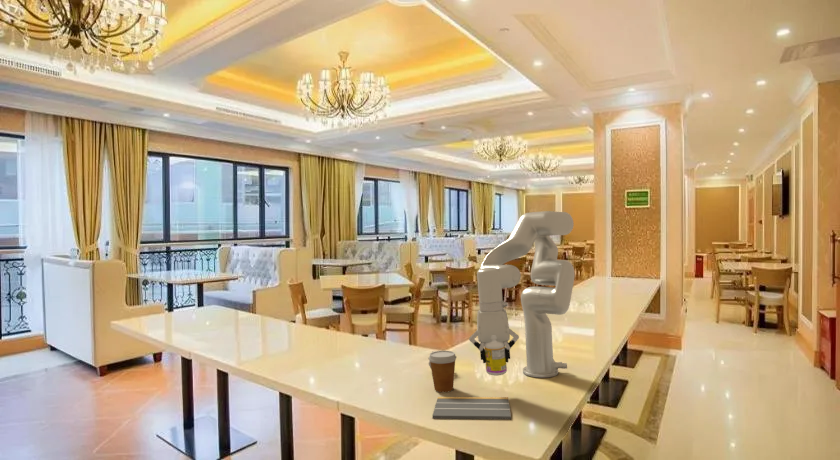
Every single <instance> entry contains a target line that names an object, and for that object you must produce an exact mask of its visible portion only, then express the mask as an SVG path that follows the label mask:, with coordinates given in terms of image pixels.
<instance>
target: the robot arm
mask: <svg viewBox="0 0 840 460" xmlns="http://www.w3.org/2000/svg"><path fill="white" fill-rule="evenodd" d="M571 215H572V214H570V213H568V212H566V211H554V210H553V211H552V210H544V211H542V210H541V211H532V212H525V213H523V214H522V215H521V216H520V217H519V218H518V220H517V222H516V224H515V225H514V227H513V229H512V231H511V233H510V235H509V237H508V238H507V240H505V241H503V242H502V243H500V244H499V245H498V246H496V247H495V248H493V249H492V250H490V252H489V253H488V254H487V255H486V256H485V257H484V259H483V261H482V262H481V264H480V267H479V269H478V270H477V273H476V279H477V291H478V304H479V305H478V306H479V310H477V313H476V315H477V316H476V330H475V331H474V333H472V335H470V336H469V338H468V340H469V342H470V343H472V345H473V346H474V347H476V348H477V349H478V351H479V352H480V360H481V361H482V363H483V364H486V363H485V350H484V345H485V343H489V342H492V340H491V336H492V335H496V337H497V339H496V341H497V342H503V343H504V345H505V354H506V363H509V360H510V359H511V349H512V347H514V345H515V343H516V342H517V341H518V340H519V338H520V336H519V334H517V333H516V332H515V331H513V330H512V329H511V328H510V325H509V319H508V313H507V309H505V307H508V306H509V305H508V304H509V303H508V302H506V301H504V300H503V291H502V290H503V289H511V288H514V287H516V286H517V285H518V284H519V283H520V281H521V277H522V275H521V274H522V273H521V272H520V269H519V268H518V267H517V266H515V265H512V264H506V263H508V262H510V261H512V260H515V259H519V258H521V257H523V256H526V255H527V254H528V253H530V251H531V248H532V247H533V244H534V247H535V249H534V250H535V251H534V255H533V259H532V265H531V270H530V279H531V282H532V283H534V284H536V285H541V286H529V287H526V288H524V289H523V290H522V291H521V294H520V303H521V308H522V312H523V317H524V318H523V319H524V328H525V329H524V332H525V333H524V334H525V352H526V366H525V367H523V368H522V374H523V375H526V376H528V377H532V378H540V379H541V378H553V377H556V376H557V375H559V369H562V370H563V369H565V370H566V369H568V363H567V362H562V361H555V360H554V349H553V347H554V346H553V331H552V330H553V327H552V322H551V320H550V318H549V316H548V315H557V316H558V315H559V316H560V315H564V314H566V313H567V312H568V311H569V308H570V304H571V300H572V294H573V289H574V283H575V268H574V266H573V263H571V262H570V261H568V260H566V259H558V255H559V248H558V246H557V244H556V243H555V241H554V240H553V239H552V237H551V236H567V235H569V234H571V232H572V231H573V229H574V220H573V219H574V218H573V217H572V216H571ZM550 286H551V287H550ZM554 286H555V287H554ZM510 336H511V337H512V339H511V340H510V338H511V337H510ZM476 338H477V339H478V341H477V340H476ZM479 342H480V343H479Z"/></svg>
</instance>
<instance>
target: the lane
mask: <svg viewBox="0 0 840 460" xmlns="http://www.w3.org/2000/svg"><path fill="white" fill-rule="evenodd" d="M509 401H510V400H509V397H507V396H501V397H499V396H437V399H436V403H435V406H434V409H433V413H432V419H452V420H453V419H454V420H455V419H458V420H461V419H464V420H512V416H511V407H510V402H509Z"/></svg>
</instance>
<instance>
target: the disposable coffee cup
mask: <svg viewBox="0 0 840 460" xmlns="http://www.w3.org/2000/svg"><path fill="white" fill-rule="evenodd" d="M434 351H435V350H434ZM427 358H428V360H429V361H430V364H431V368H430V370H431V375H432V380H433V381H432V382H433V388H434V391H435V390H436V391H435V392H437V391H438V393H449V392H452V391H453V390H454V383H455V382H454V381H455V371H456V370H455V369H456V360H457V356H456V353H455V352H454V351H451V350H436V351H435V352H430V353H429V357H427ZM429 361H428V362H429ZM451 390H452V391H451ZM448 391H449V392H448Z"/></svg>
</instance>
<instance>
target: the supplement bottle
mask: <svg viewBox="0 0 840 460" xmlns="http://www.w3.org/2000/svg"><path fill="white" fill-rule="evenodd" d="M496 339H497V337H496V335H492V336H491V340H492V342H489V343H485V345H484V350H485V363H484V364H485V372H486V373H487V374H488V375H489V376H502V375H504V374H505V375H506V373H507V371H508V367H507V362H506V354H505V345H504V343H503V342H497V341H496Z"/></svg>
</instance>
